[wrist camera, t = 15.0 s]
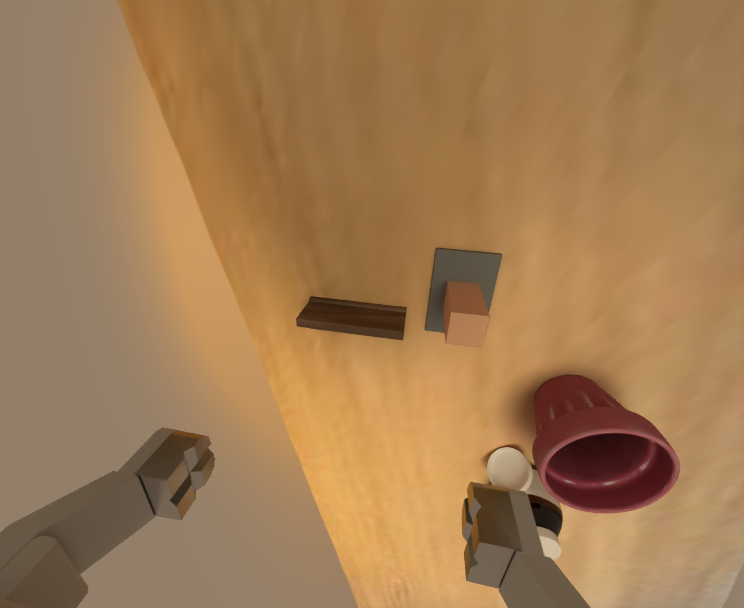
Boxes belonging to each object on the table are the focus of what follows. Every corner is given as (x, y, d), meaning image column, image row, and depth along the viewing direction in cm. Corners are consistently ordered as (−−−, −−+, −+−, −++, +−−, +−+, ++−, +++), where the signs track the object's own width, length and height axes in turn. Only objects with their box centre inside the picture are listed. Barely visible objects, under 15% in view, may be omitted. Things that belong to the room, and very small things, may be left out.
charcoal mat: (436, 247, 42) (436, 249, 41) (501, 253, 41) (502, 255, 40) (425, 328, 47) (425, 330, 47) (482, 335, 46) (482, 337, 46)
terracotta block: (447, 280, 43) (451, 312, 35) (478, 283, 43) (489, 316, 35) (443, 307, 45) (445, 343, 37) (473, 310, 44) (482, 348, 36)
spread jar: (517, 500, 60) (534, 574, 50) (463, 473, 59) (470, 543, 49) (563, 464, 55) (594, 540, 44) (505, 435, 54) (523, 504, 44)
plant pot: (635, 362, 45) (704, 437, 33) (607, 437, 51) (658, 522, 39) (523, 356, 47) (552, 425, 36) (509, 428, 53) (530, 506, 42)
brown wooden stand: (311, 296, 48) (296, 315, 43) (406, 307, 46) (403, 329, 41) (312, 325, 50) (298, 347, 45) (403, 337, 49) (399, 361, 43)
